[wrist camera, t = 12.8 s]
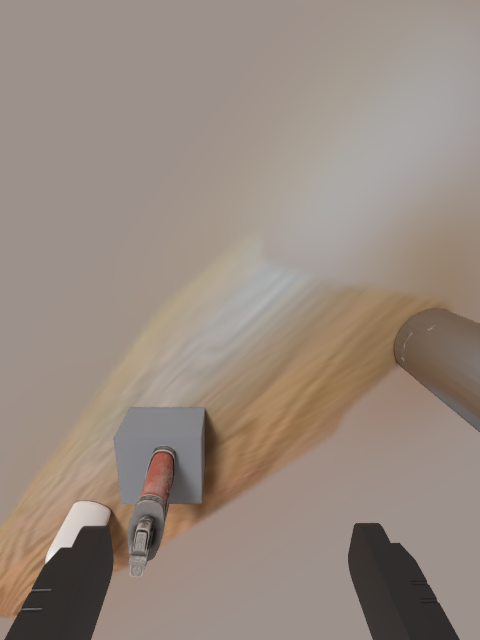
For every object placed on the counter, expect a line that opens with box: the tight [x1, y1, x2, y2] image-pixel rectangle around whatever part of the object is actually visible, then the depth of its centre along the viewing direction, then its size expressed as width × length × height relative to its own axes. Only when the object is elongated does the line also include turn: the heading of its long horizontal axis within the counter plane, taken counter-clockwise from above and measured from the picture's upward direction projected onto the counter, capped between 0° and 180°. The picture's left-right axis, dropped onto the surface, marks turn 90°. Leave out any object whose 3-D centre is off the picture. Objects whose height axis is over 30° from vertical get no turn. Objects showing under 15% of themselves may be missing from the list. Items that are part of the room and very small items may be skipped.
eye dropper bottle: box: [45, 501, 111, 563], centre depth 40 cm, size 4×6×12 cm
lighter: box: [127, 445, 176, 577], centre depth 32 cm, size 8×3×10 cm, turn 168°
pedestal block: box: [114, 407, 205, 504], centre depth 39 cm, size 10×10×6 cm
